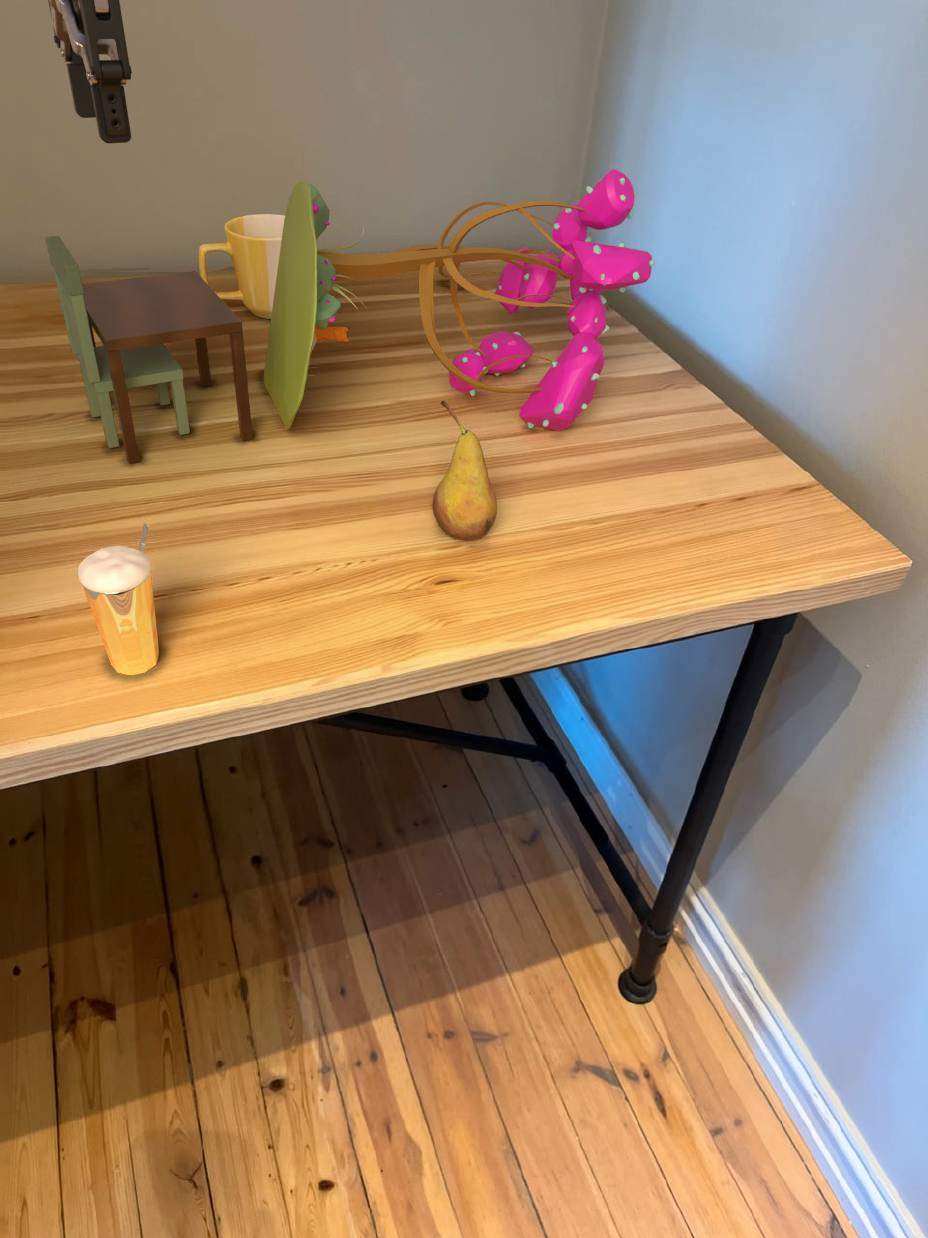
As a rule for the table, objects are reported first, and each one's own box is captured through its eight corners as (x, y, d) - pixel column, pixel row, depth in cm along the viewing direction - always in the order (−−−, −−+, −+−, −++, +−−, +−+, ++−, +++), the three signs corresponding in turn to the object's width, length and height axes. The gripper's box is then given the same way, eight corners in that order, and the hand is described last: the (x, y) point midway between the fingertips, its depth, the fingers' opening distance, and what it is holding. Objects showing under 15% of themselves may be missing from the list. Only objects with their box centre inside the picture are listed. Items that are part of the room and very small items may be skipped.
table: (129, 464, 85) (105, 340, 78) (95, 401, 95) (70, 285, 87) (253, 439, 90) (242, 321, 83) (209, 382, 100) (195, 270, 92)
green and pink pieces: (283, 55, 86) (618, 122, 96) (258, 312, 108) (533, 343, 118) (308, 239, 69) (710, 295, 80) (272, 499, 91) (591, 515, 101)
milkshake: (190, 649, 66) (171, 535, 60) (133, 691, 63) (105, 575, 56) (146, 625, 68) (122, 512, 62) (87, 664, 64) (56, 549, 58)
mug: (310, 295, 121) (306, 211, 114) (319, 325, 113) (316, 238, 107) (203, 298, 118) (193, 212, 111) (206, 329, 110) (195, 239, 104)
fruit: (451, 558, 77) (459, 430, 69) (420, 524, 81) (425, 398, 73) (507, 543, 79) (521, 417, 72) (475, 510, 83) (485, 387, 75)
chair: (102, 450, 86) (63, 266, 76) (84, 413, 92) (44, 236, 81) (191, 433, 90) (166, 254, 79) (168, 399, 95) (142, 227, 84)
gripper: (-19, -148, 64) (35, 111, 75) (14, -141, 55) (71, 154, 65) (92, -140, 67) (129, 107, 78) (141, -133, 58) (176, 148, 68)
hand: (103, 128), depth 71 cm, fingers open, 8 cm apart
